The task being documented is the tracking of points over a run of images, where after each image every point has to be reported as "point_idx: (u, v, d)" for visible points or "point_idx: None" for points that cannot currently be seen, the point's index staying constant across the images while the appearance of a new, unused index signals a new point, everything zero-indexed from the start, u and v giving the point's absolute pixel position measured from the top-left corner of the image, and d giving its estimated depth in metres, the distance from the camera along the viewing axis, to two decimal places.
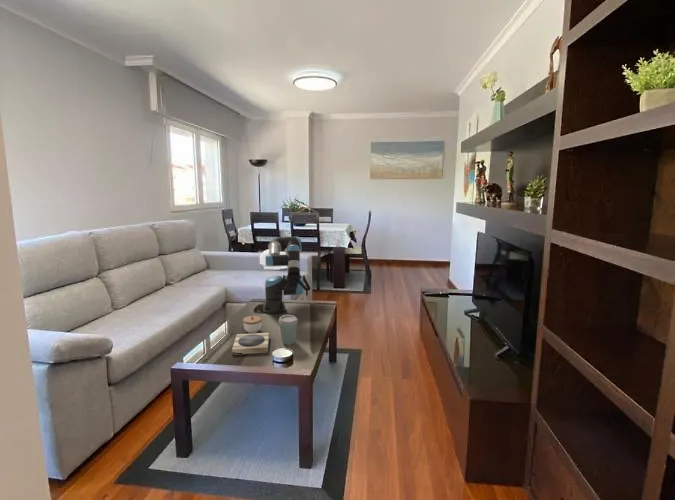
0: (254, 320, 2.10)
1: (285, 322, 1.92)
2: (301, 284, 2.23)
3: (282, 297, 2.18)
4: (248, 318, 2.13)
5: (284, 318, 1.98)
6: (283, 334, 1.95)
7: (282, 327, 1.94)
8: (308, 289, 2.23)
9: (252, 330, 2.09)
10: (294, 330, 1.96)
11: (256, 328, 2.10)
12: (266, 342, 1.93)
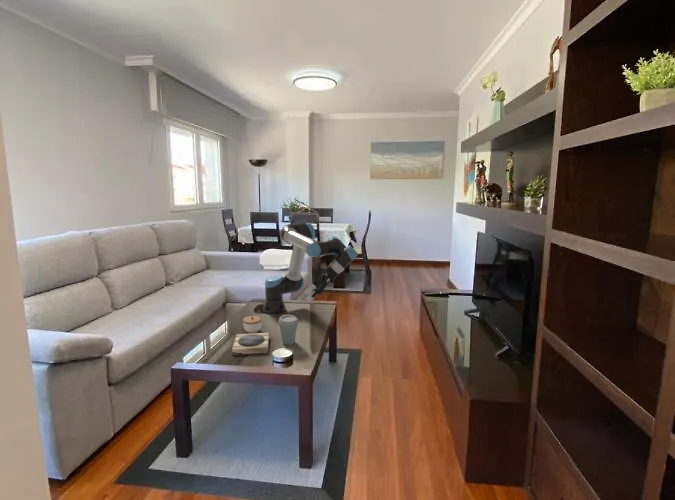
0: (254, 320, 2.10)
1: (285, 322, 1.92)
2: (320, 282, 2.00)
3: None
4: (248, 318, 2.13)
5: (284, 318, 1.98)
6: (283, 334, 1.95)
7: (282, 327, 1.94)
8: None
9: (252, 330, 2.09)
10: (294, 330, 1.96)
11: (256, 328, 2.10)
12: (266, 342, 1.93)
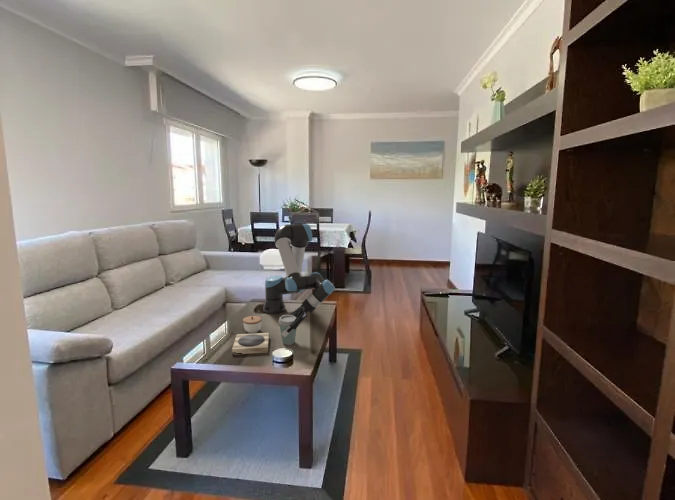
0: (254, 320, 2.10)
1: (285, 322, 1.92)
2: None
3: (287, 334, 1.92)
4: (248, 318, 2.13)
5: (284, 318, 1.98)
6: None
7: (282, 327, 1.94)
8: None
9: (252, 330, 2.09)
10: (294, 330, 1.96)
11: (256, 328, 2.10)
12: (266, 342, 1.93)
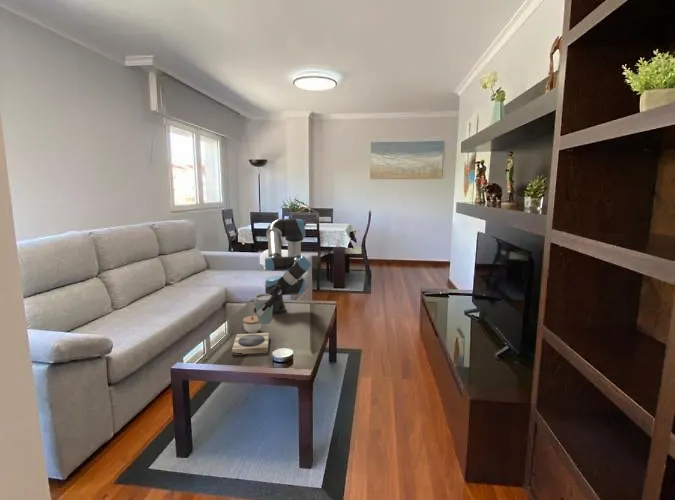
0: (254, 320, 2.10)
1: (260, 300, 1.86)
2: None
3: None
4: (248, 318, 2.13)
5: (260, 297, 1.91)
6: None
7: (257, 306, 1.87)
8: None
9: (252, 330, 2.09)
10: (270, 308, 1.89)
11: (256, 328, 2.10)
12: (266, 342, 1.93)
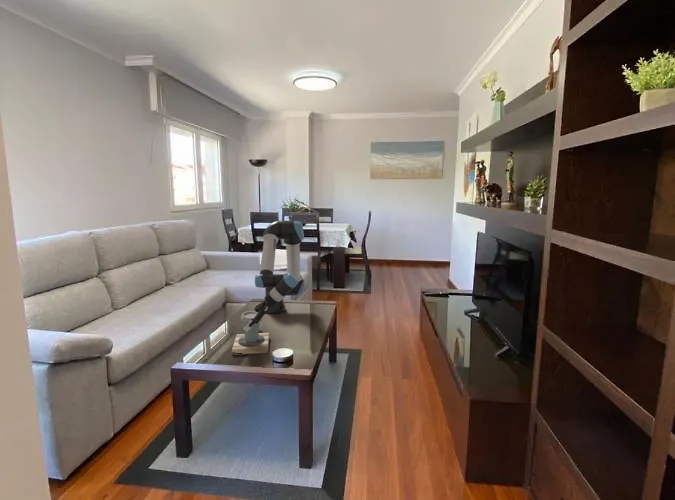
0: None
1: (247, 318, 1.88)
2: None
3: (249, 329, 1.86)
4: None
5: (247, 314, 1.93)
6: (245, 331, 1.91)
7: (244, 324, 1.89)
8: None
9: None
10: (257, 326, 1.91)
11: None
12: (266, 342, 1.93)
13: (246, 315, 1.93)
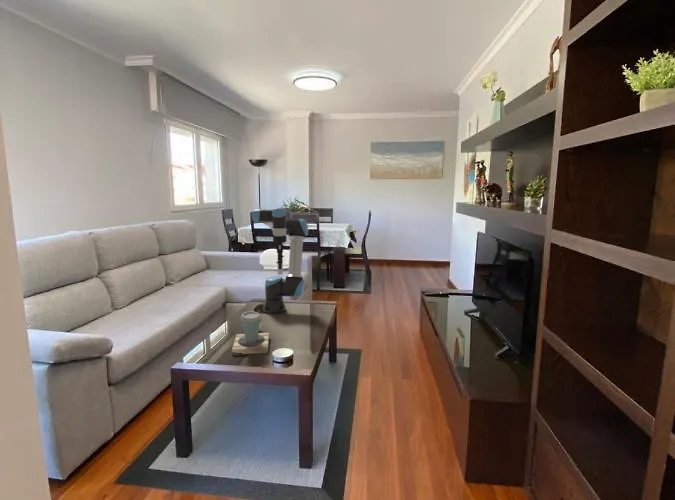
0: None
1: (246, 319, 1.88)
2: None
3: (282, 271, 2.01)
4: None
5: (247, 315, 1.93)
6: (245, 331, 1.91)
7: (244, 324, 1.89)
8: None
9: None
10: (256, 326, 1.91)
11: None
12: (266, 342, 1.93)
13: (246, 315, 1.93)
